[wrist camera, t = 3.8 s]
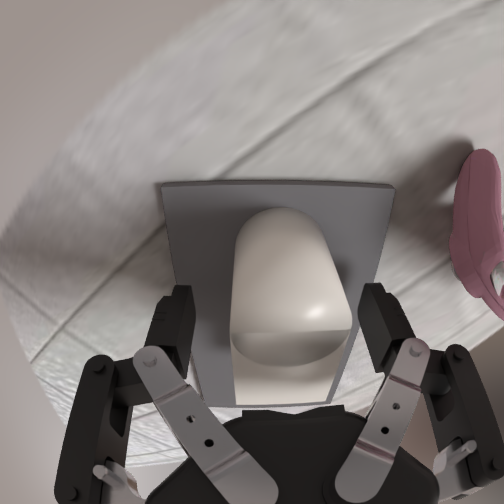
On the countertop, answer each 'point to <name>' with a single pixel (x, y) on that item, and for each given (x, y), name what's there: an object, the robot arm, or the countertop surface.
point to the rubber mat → (223, 252)
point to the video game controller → (479, 230)
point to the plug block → (285, 311)
